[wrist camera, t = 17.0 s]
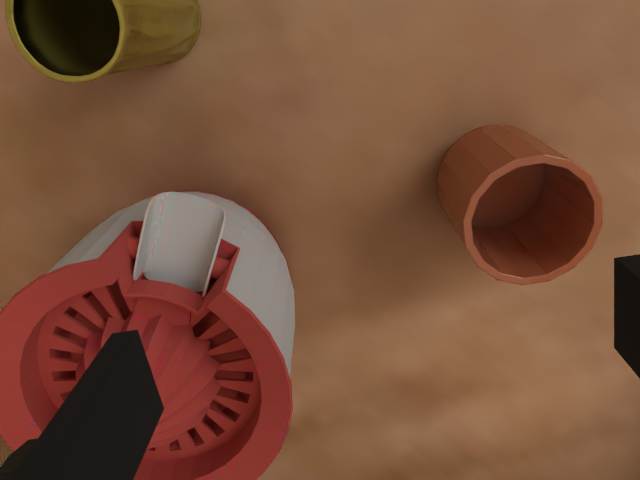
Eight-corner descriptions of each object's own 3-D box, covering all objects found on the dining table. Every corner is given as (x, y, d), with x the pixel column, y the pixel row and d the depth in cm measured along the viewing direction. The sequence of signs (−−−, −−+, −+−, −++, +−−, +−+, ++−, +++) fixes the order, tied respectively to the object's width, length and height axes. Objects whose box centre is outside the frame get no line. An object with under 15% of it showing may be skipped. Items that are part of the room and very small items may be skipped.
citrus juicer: (334, 173, 42) (340, 306, 24) (277, 367, 48) (247, 592, 30) (119, 115, 41) (-53, 208, 22) (90, 323, 47) (-63, 531, 29)
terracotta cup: (546, 115, 40) (603, 144, 32) (549, 221, 43) (602, 273, 35) (431, 135, 41) (457, 168, 33) (442, 238, 44) (469, 293, 36)
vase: (151, -58, 37) (53, -93, 23) (221, 19, 38) (165, 28, 25) (89, 11, 38) (-36, 15, 25) (158, 83, 40) (75, 122, 27)
